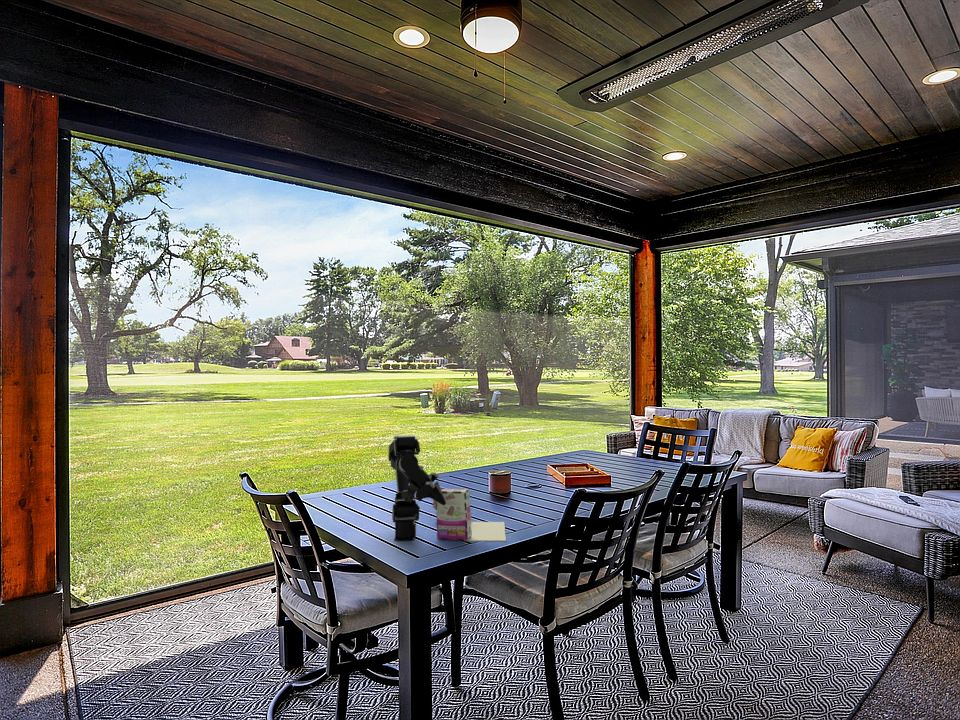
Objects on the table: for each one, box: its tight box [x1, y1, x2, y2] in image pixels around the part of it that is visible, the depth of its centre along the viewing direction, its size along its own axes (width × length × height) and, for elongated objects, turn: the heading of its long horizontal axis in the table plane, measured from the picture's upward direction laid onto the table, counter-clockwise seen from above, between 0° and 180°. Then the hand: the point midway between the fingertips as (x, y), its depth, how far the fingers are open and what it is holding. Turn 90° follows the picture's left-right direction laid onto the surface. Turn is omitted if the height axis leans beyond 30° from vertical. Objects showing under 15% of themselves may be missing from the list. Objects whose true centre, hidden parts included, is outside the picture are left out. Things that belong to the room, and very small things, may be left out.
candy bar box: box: [435, 488, 472, 541], centre depth 195 cm, size 11×5×16 cm, turn 73°
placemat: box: [463, 521, 507, 542], centre depth 203 cm, size 14×22×1 cm, turn 179°
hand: (444, 504), depth 190 cm, fingers closed
